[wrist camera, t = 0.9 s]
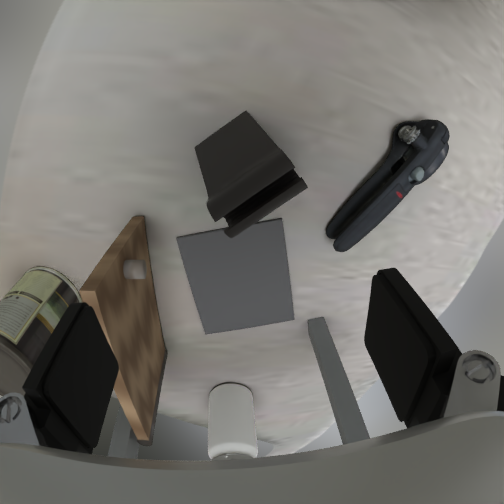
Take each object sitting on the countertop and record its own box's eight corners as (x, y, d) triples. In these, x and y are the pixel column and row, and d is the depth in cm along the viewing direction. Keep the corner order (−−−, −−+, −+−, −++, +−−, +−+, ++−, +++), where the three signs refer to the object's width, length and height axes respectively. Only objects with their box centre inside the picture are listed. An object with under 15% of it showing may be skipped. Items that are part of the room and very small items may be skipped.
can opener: (411, 101, 28) (441, 103, 23) (444, 146, 30) (474, 156, 25) (303, 217, 33) (316, 238, 28) (345, 254, 36) (362, 279, 30)
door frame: (323, 316, 39) (382, 473, 19) (323, 331, 40) (378, 483, 20) (137, 345, 39) (99, 497, 19) (143, 358, 40) (111, 505, 20)
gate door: (178, 357, 40) (166, 447, 27) (156, 356, 39) (138, 445, 27) (158, 215, 31) (117, 291, 19) (131, 216, 31) (76, 290, 18)
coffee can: (97, 301, 36) (55, 385, 23) (67, 342, 38) (30, 417, 26) (35, 249, 32) (-29, 316, 19) (12, 298, 35) (-38, 363, 22)
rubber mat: (281, 218, 33) (282, 219, 32) (293, 317, 38) (294, 319, 38) (177, 237, 33) (176, 238, 33) (205, 332, 39) (205, 334, 38)
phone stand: (298, 184, 31) (334, 229, 21) (248, 217, 33) (259, 277, 22) (246, 110, 28) (257, 111, 17) (194, 146, 29) (174, 171, 18)
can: (227, 375, 42) (229, 447, 32) (261, 392, 45) (269, 460, 34) (200, 396, 44) (197, 464, 33) (233, 411, 46) (236, 476, 36)
